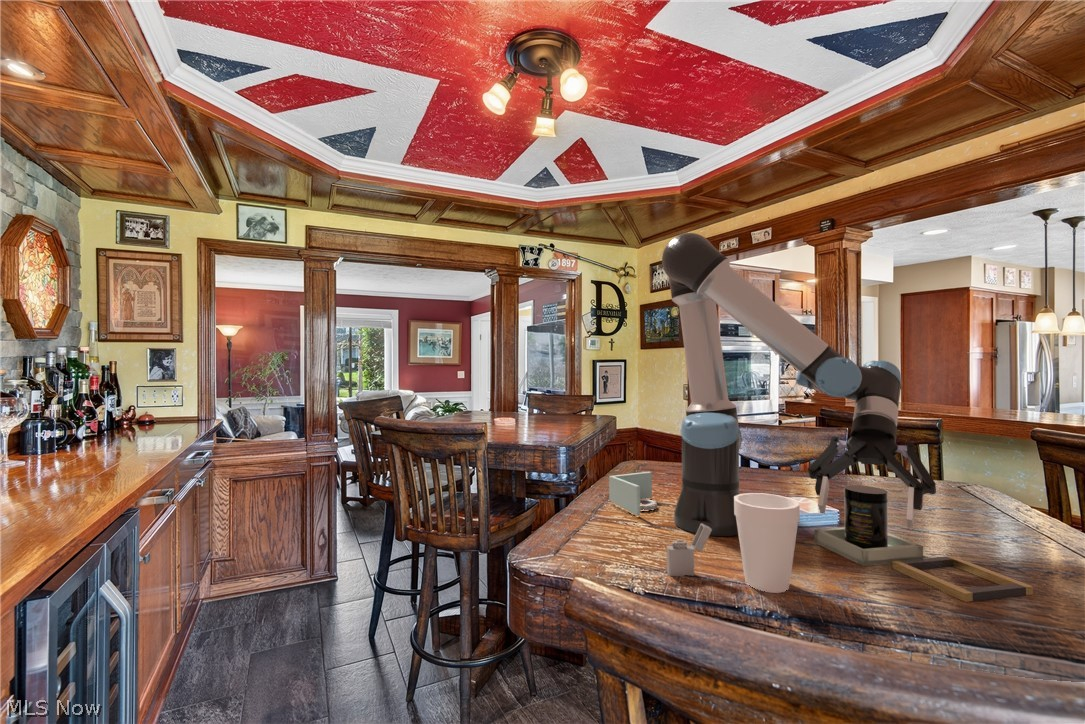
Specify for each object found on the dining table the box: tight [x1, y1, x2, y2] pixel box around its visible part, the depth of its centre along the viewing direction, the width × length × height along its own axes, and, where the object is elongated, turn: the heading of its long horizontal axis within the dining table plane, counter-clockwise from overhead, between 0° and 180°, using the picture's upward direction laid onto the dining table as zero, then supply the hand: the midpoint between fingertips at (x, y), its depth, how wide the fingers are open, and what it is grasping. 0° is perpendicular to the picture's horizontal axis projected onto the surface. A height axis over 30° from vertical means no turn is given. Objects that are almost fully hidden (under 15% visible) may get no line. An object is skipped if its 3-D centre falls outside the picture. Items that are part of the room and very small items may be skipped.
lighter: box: [666, 523, 712, 577], centre depth 82 cm, size 7×2×8 cm, turn 92°
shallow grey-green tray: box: [813, 526, 924, 567], centre depth 91 cm, size 12×12×2 cm
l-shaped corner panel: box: [608, 471, 658, 516], centre depth 120 cm, size 12×12×8 cm
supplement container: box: [843, 484, 889, 549], centre depth 91 cm, size 7×7×10 cm
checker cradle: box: [891, 555, 1034, 603], centre depth 78 cm, size 12×12×1 cm
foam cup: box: [734, 492, 801, 594], centre depth 78 cm, size 10×9×13 cm
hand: (863, 516), depth 89 cm, fingers open, 13 cm apart
